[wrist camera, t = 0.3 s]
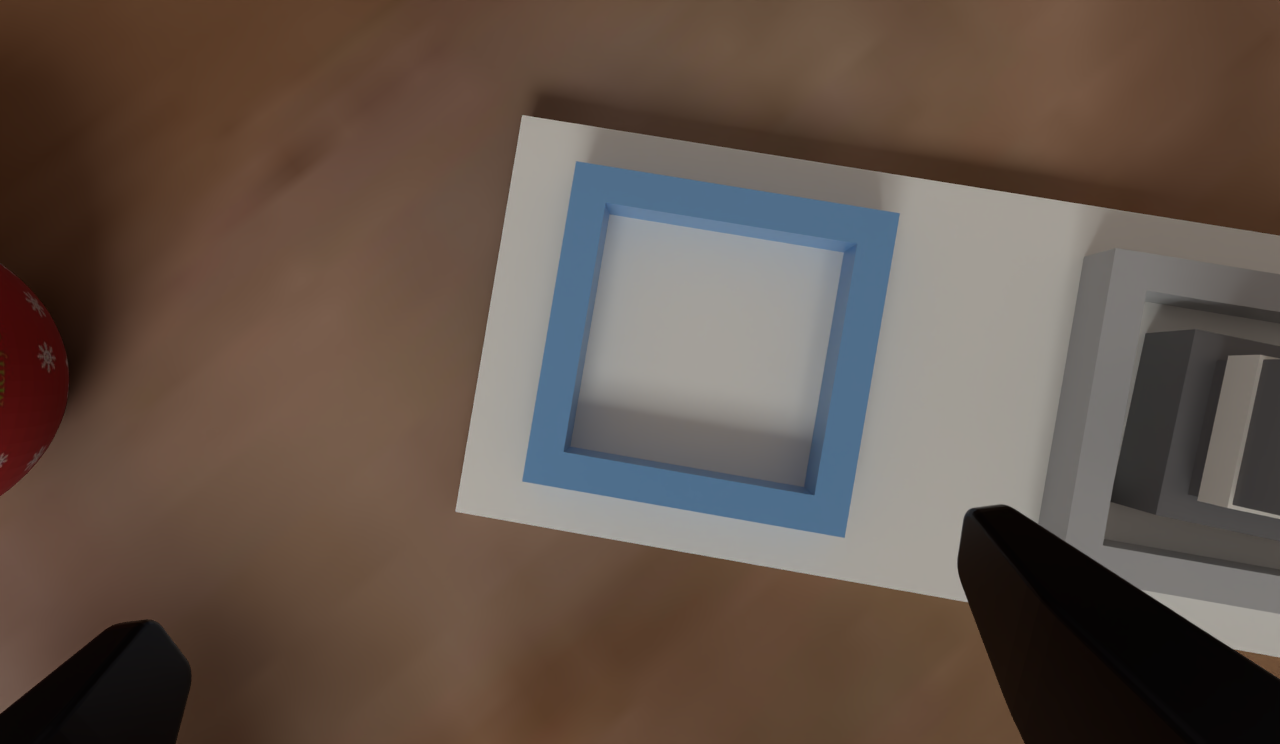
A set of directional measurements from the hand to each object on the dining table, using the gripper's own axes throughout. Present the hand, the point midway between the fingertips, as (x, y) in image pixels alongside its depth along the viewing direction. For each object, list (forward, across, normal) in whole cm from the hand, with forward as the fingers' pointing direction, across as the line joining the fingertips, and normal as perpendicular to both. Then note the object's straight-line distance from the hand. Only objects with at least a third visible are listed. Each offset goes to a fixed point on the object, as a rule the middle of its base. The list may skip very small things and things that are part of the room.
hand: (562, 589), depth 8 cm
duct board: (+12, -10, +8) cm, 18 cm away
